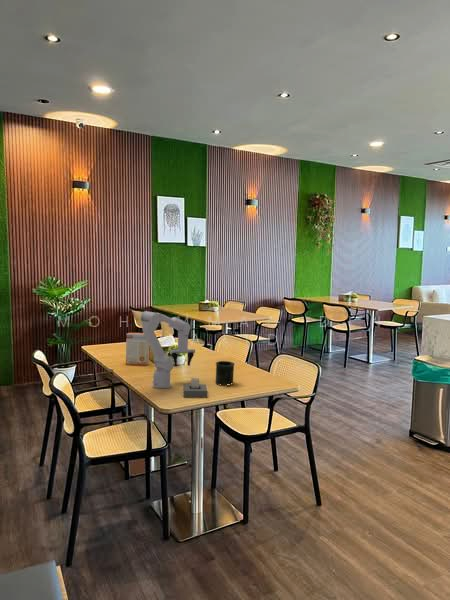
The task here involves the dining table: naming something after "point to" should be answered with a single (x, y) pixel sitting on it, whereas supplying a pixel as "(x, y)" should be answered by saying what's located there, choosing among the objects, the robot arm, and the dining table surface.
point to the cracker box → (137, 349)
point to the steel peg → (194, 383)
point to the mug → (224, 372)
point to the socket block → (195, 391)
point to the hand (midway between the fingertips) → (182, 365)
